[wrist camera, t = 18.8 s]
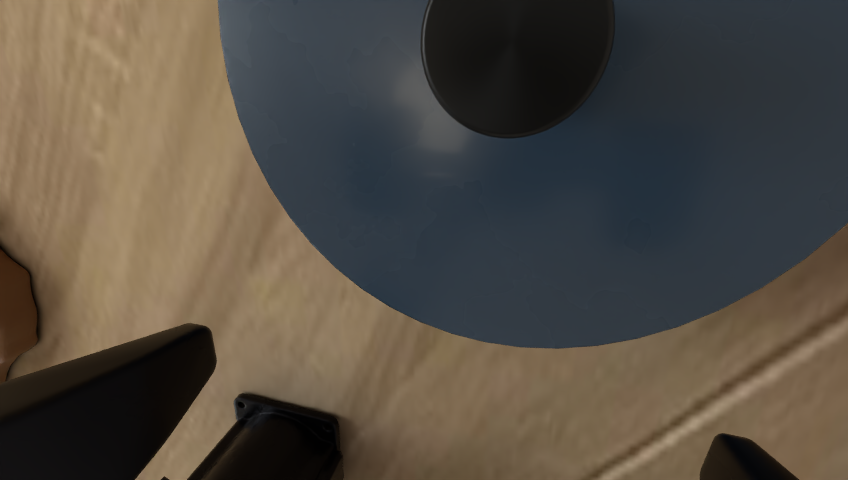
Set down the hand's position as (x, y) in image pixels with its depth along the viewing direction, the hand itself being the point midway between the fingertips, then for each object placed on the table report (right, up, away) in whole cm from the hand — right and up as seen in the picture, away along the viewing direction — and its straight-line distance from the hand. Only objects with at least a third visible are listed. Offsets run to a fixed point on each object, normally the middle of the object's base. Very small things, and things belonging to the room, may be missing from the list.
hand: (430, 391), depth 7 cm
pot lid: (+2, +7, +2) cm, 8 cm away
